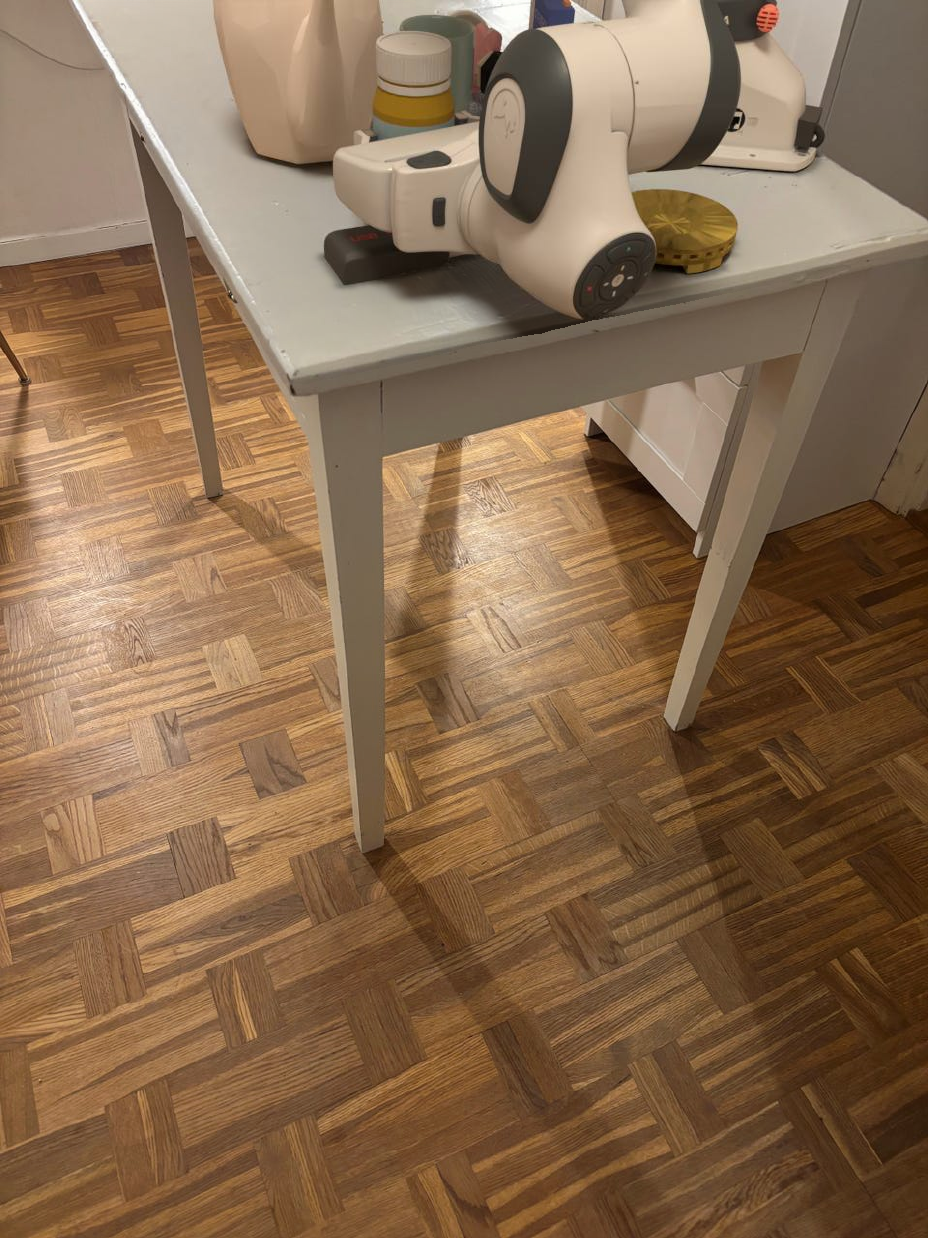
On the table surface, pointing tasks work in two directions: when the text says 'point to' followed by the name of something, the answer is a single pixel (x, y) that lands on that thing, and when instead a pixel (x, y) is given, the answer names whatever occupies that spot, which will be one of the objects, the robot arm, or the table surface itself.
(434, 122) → the bottle
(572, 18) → the walkman
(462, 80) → the cup
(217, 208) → the table surface
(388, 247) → the usb drive
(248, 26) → the watering can
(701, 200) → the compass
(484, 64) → the toy
